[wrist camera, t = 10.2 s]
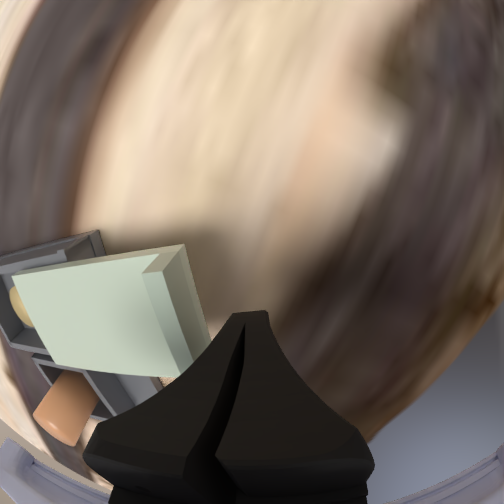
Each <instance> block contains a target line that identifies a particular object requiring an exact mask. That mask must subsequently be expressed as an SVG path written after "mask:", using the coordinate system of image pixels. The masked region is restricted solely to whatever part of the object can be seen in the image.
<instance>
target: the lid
mask: <svg viewBox="0 0 504 504" xmlns="http://www.w3.org/2000/svg"><path fill="white" fill-rule="evenodd" d="M12 279H13V281H14V284H15V286H16V289H17V291H18V293H19V296H20V298H21V300H22V302H23V305H24V307H25V309H26V311H27V313H28V315H29V317H30V319H31V321H32V323H33V325H34V327H35V329H36V331H37V333H38V335H39V336H40V338H41V340H42V342H43V343H44V345H45V347H46V349H47V350H48V352H49V354H50V355H51V357H52V359H53V360H54V362H55V363H56V364H58V365H63V366H68V367H74V368H80V369H86V370H93V371H100V372H108V373H117V374H127V375H139V376H153V377H176V378H177V377H178V376H180V375H181V374H182V373H183V372H184V371H185V370H186V369H187V368H188V367H189V366H190V365H191V364H192V363H193V362H194V361H195V360H196V359H197V358H198V357H199V356H200V355H201V354H202V352H203V351H204V350H205V349H206V348H207V347H208V345H209V344H210V343H211V342H212V341H211V338H210V334H209V331H208V328H207V325H206V321H205V318H204V314H203V311H202V308H201V304H200V301H199V297H198V294H197V290H196V286H195V283H194V279H193V275H192V272H191V268H190V264H189V260H188V256H187V252H186V248H185V244H179V245H173V246H166V247H159V248H153V249H146V250H140V251H133V252H127V253H121V254H114V255H108V256H102V257H96V258H90V259H84V260H78V261H72V262H66V263H61V264H55V265H49V266H43V267H38V268H32V269H27V270H21V271H18V272H17V273H15V274H14V275H13V276H12Z"/></svg>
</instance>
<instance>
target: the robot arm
mask: <svg viewBox="0 0 504 504" xmlns="http://www.w3.org/2000/svg"><path fill="white" fill-rule="evenodd" d="M82 455H83V459H84V461H85V462H86V464H87V465H88V466H89V467H90V468H91V469H93V470H94V471H95V472H96V473H98V474H99V475H100V476H102V477H103V478H104V479H106V480H107V481H108V482H110V483H111V484H113V485H114V487H113V490H112V492H111V495H109V494H107V493H104V492H101V491H99V490H96V489H94V488H91V487H89V486H87V485H85V484H82V483H80V482H78V481H76V480H74V479H72V478H69V477H67V476H66V475H63V474H61V473H59V472H58V471H56V470H54V469H52V468H50V467H48V466H47V465H45V464H43V463H41V462H40V461H38V460H37V459H35V458H34V457H33V456H32V455H31V454H30V453H29V452H28V451H27V450H26V449H24V448H23V447H22V446H20V445H19V444H18V443H16V442H15V441H13V440H12V439H10V438H9V437H7V438H6V439H5V441H4V443H3V445H2V446H1V448H0V487H1V488H2V489H3V490H4V491H5V492H6V493H7V494H8V495H9V496H10V497H11V498H12V500H13V501H14V502H15V503H16V504H367V498H366V496H367V495H368V489H367V484H366V481H367V480H368V478H369V477H370V475H371V474H372V472H373V470H374V467H375V464H374V459H373V457H372V454H371V452H370V450H369V447H368V445H367V444H366V442H365V440H364V438H363V437H362V435H361V434H360V432H359V430H358V429H357V428H356V427H355V426H353V425H352V424H350V423H349V422H347V421H346V420H345V419H343V418H342V417H341V416H339V415H338V414H337V413H336V412H334V411H333V410H332V409H331V408H330V407H329V406H327V405H326V404H325V403H324V402H323V401H322V400H321V399H320V398H319V397H318V396H317V395H316V394H315V393H314V392H313V391H312V390H311V389H310V388H309V387H308V386H307V385H306V384H305V382H304V381H303V380H302V379H301V378H300V376H299V375H298V374H297V372H296V371H295V370H294V369H293V367H292V366H291V364H290V363H289V361H288V360H287V358H286V357H285V355H284V353H283V352H282V350H281V348H280V346H279V345H278V343H277V340H276V338H275V336H274V334H273V332H272V329H271V327H270V322H269V316H268V312H267V311H265V310H261V311H251V312H241V313H233V314H232V315H231V316H230V317H229V319H228V320H227V322H226V323H225V324H224V326H223V327H222V329H221V330H220V331H219V333H218V334H217V335H216V337H215V338H214V339H213V340H212V342H211V343H210V344H209V345H208V347H207V348H206V349H205V350H204V351H203V352H202V354H201V355H200V356H199V357H198V358H197V359H196V360H195V361H194V362H193V363H192V364H191V365H190V366H189V367H188V368H187V369H186V370H185V371H184V372H183V373H182V374H181V375H180V376H178V377H177V378H176V379H175V380H174V381H173V382H171V383H170V384H169V385H167V386H166V387H164V388H163V389H162V390H160V391H159V392H158V393H156V394H155V395H153V396H152V397H150V398H149V399H147V400H145V401H144V402H142V403H140V404H139V405H137V406H135V407H133V408H131V409H129V410H127V411H125V412H123V413H121V414H119V415H117V416H114V417H112V418H110V419H107V420H105V421H103V422H100V423H98V424H97V426H96V428H95V430H94V432H93V434H92V436H91V438H90V440H89V442H88V444H87V446H86V448H85V450H84V452H83V454H82ZM385 504H504V443H503V444H502V445H501V446H500V447H499V448H498V449H497V451H496V452H494V453H493V454H491V455H490V456H488V457H487V458H485V459H483V460H482V461H480V462H478V463H477V464H475V465H473V466H472V467H470V468H468V469H466V470H464V471H463V472H461V473H459V474H457V475H455V476H453V477H451V478H449V479H447V480H445V481H443V482H441V483H438V484H436V485H434V486H432V487H429V488H427V489H424V490H422V491H420V492H417V493H414V494H412V495H409V496H407V497H403V498H401V499H398V500H394V501H392V502H388V503H385Z"/></svg>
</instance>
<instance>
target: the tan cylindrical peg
mask: <svg viewBox="0 0 504 504" xmlns="http://www.w3.org/2000/svg"><path fill="white" fill-rule="evenodd" d="M99 399H100V398H99V396H98V395H97V393H96V392H95V391H94V389H93V388H92V386H91V385H90V383H89V382H88V381H87V379H86V378H85V376H84V375H83V373H82V372H76V371H71V370H65V369H64V370H63V372H62V373H61V374H60V376H59V377H58V378H57V380H56V381H55V383H54V384H53V385H52V387H51V388H50V390H49V391H48V393H47V394H46V395H45V397H44V398H43V400H42V401H41V403H40V404H39V406H38V407H37V409H36V410H35V412H34V413H33V416H34V418H35V420H36V421H37V422H38V423H39V424H40V425H41V426H42V427H43V428H44V429H45V430H46V431H47V432H48V433H49V434H51V435H52V436H53V437H55V438H56V439H58V440H60V441H61V442H63V443H65V444H67V445H70V446H75V444H76V442H77V440H78V438H79V436H80V435H81V433H82V431H83V429H84V427H85V425H86V423H87V421H88V419H89V417H90V416H91V414H92V412H93V410H94V408H95V406H96V405H97V403H98V401H99Z"/></svg>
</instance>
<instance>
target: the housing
mask: <svg viewBox="0 0 504 504" xmlns="http://www.w3.org/2000/svg"><path fill="white" fill-rule="evenodd" d="M102 256H106V253H105V250H104V247H103V244H102V240H101V237H100V234H99V230H95V231H90V232H86V233H82V234H78V235H74V236H70V237H66V238H62V239H58V240H54V241H50V242H47V243H43V244H39V245H36V246H32V247H28V248H25V249H21V250H18V251H15V252H11V253H8V254H5V255H1V256H0V328H1V330H2V332H3V334H4V336H5V338H6V339H7V341H8V343H9V345H10V346H11V347H13V348H17V349H21V350H26V351H30V352H35V353H34V354H33V356H32V357H31V358H32V359H33V361H34V363H35V364H36V366H37V367H38V369H39V370H40V372H41V373H42V375H43V376H44V378H45V379H46V380H47V382H48V383H49V385H50V386H51V387H52V385H53V384H54V383H55V381H56V380H57V378H58V377H59V376H60V374H61V373H62V372H63V370H64V369H65V370H71V371H76V372H82V373H83V375H84V376H85V378H86V379H87V381H88V382H89V383H90V385H91V386H92V388H93V389H94V391H95V392H96V393H97V395H98V396H99V398H100V399H99V401H98V403H97V405H96V406H95V408H94V410H93V412H92V414H91V416H90V418H94V419H98V420H102V421H105V420H107V419H110V418H112V417H114V416H117V415H119V414H121V413H123V412H125V411H127V410H129V409H131V408H133V407H135V406H137V405H139V404H140V403H142V402H144V401H145V400H147V399H149V398H150V397H152V396H153V395H155V394H156V393H158V392H159V391H160V390H162V389H163V386H162V384H161V382H160V381H159V379H158V377H153V376H139V375H127V374H117V373H108V372H100V371H93V370H86V369H80V368H74V367H68V366H63V365H58V364H56V363H55V362H54V360H53V359H52V357H51V355H50V354H49V352H48V350H47V349H46V347H45V345H44V343H43V342H42V340H41V338H40V336H39V335H38V333H37V331H36V329H35V327H34V325H33V323H32V321H31V319H30V317H29V315H28V313H27V311H26V309H25V307H24V305H23V302H22V300H21V298H20V296H19V293H18V291H17V289H16V286H15V284H14V281H13V279H12V276H13V275H14V274H15V273H17V272H18V271H21V270H27V269H32V268H38V267H43V266H49V265H55V264H61V263H66V262H72V261H78V260H84V259H90V258H96V257H102Z"/></svg>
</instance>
